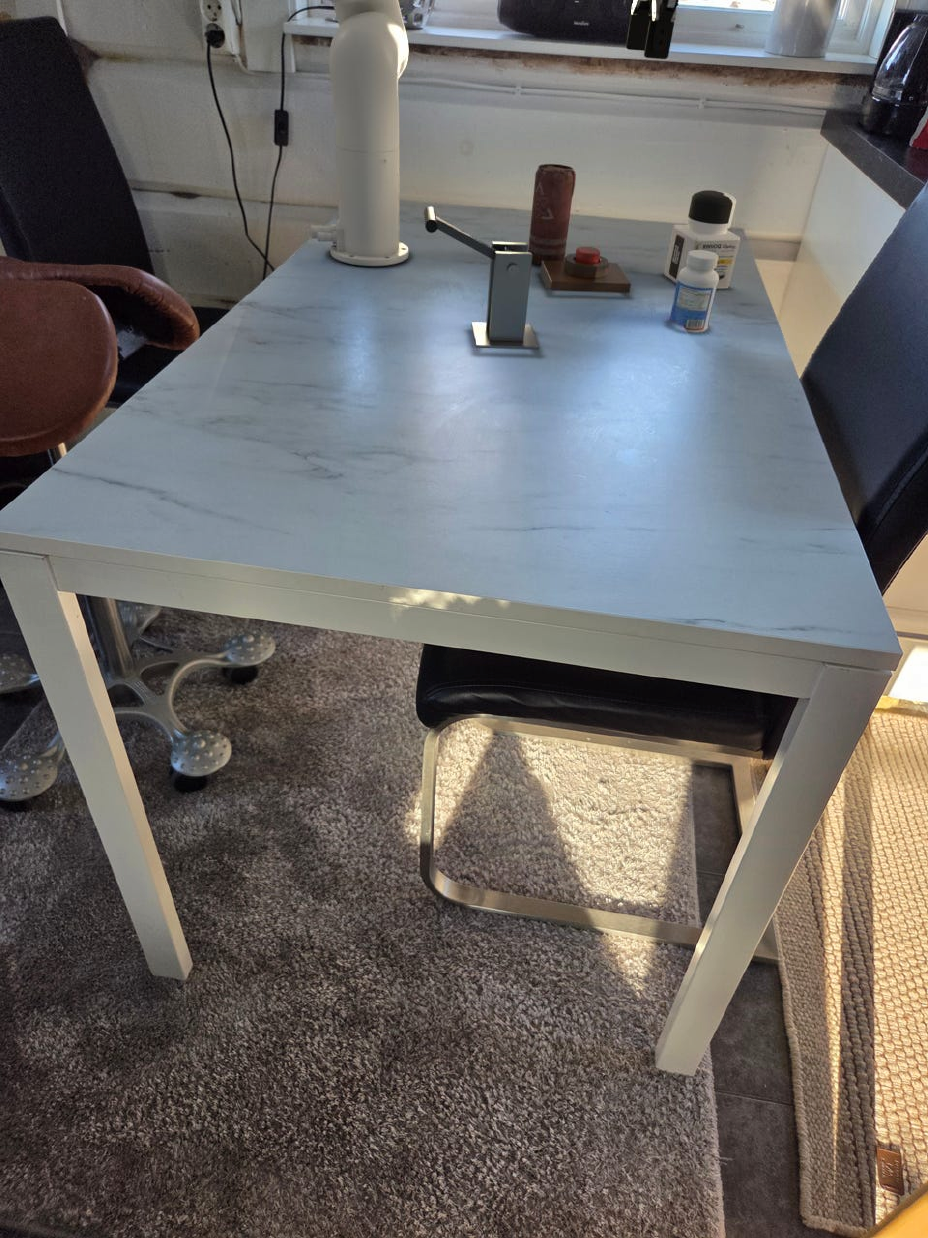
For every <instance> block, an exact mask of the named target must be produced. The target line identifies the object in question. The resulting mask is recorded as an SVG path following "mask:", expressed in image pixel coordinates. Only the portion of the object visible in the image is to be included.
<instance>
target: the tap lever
mask: <svg viewBox="0 0 928 1238" xmlns="http://www.w3.org/2000/svg"><path fill="white" fill-rule="evenodd" d="M423 220H424V227H425V230H426V232H428V233H430V234H434V233H436V231H437V230H438V231H440V232H442V233H443V234H445V235H447V236H449V237H451V238H452V239H455V240H456V241H458V242H460V243H462V244H464V245H466V246H467V247H469V248H471V249H472V250H474V251H476V252H478V253H479V254H482V255H484V256H485V257H487V258H489V259H490V260H491V259H493V260H494V261H495V251H498V250H496V249H494V248H492V245H489V244H487V243H485V242H483V241H481V240H480V239H478V238H476V237H474V236H473V235H471V234H469V233H467V232H466V231H464V230H461V228H460V229H459V228H458V227H456V226H454V225H452V224H451V223H449V222H447V221H445V220H444V219H442V218H440V217H438V216H437V213H436V209H435V207H433V206H426V207H425V208H424V210H423ZM502 251H503V252H514V251H512V250H510V249H509V248H507V247H504V249H503V250H502Z"/></svg>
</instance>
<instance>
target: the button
mask: <svg viewBox="0 0 928 1238" xmlns="http://www.w3.org/2000/svg"><path fill="white" fill-rule="evenodd" d="M575 253H576V257H575V261H577V262H580V263H585V264H596V263H599V258H600V256H601V250H600V249H599V248H597V247H592V246H579V247H576V251H575Z"/></svg>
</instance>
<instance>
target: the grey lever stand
mask: <svg viewBox="0 0 928 1238" xmlns="http://www.w3.org/2000/svg"><path fill="white" fill-rule="evenodd" d="M528 245H529V243H527V242H514V241H513V242H512V241H492V242H491V247H492V248H494V249H496V250H498V251H495V261H494V260H493V259H491V258H490V265H489V280H488V290H487V291H488V293H487V307H486V320H485V321H486V322H471V331H472V334H473V340H474V344H475V348H476V349H509V350H511V349H512V350H539V349H540V346H539V343H538V341H537V337H536V335H535V331H534V329H533V327H532V324H531V323H527V321H526V320H527V313H528V304H529V303H528V302H529V292H530V282H531V281H530V280H531V273H532V265H533V263H532V253H530V252H528ZM504 247H507V248H509V249H510V250H512V251H514V252H503V251H502V250H503V249H504Z"/></svg>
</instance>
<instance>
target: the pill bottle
mask: <svg viewBox="0 0 928 1238" xmlns="http://www.w3.org/2000/svg"><path fill="white" fill-rule="evenodd" d="M686 262H687V265H688V266H687V267H685V268H683V269H682V270H681V271H680V273H679V276H678V281H677V284H676V287H675V291H674V296H673V301H672V305H671V310H670V315H669V320H670V321H671V322H672V323H674V324H676V325H679V326H681V327H683V328H684V329H685V331H686V333H688V334H689V333H690V334H694V333H695V334H696V333H702V332H704V331H706V330H707V329H708V327H709V324H710V320H711V314H712V312H713V311H712V310H713V306H714V302H715V298H716V294H717V290H718V289H717V285H718V281H719V275H718V273H717V272H716V271H714V268H716V266H717V262H718V255H717V254H716V253H714V252H710V251H705V250H692V251H690V252H689V253H688V257H687V260H686Z"/></svg>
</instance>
